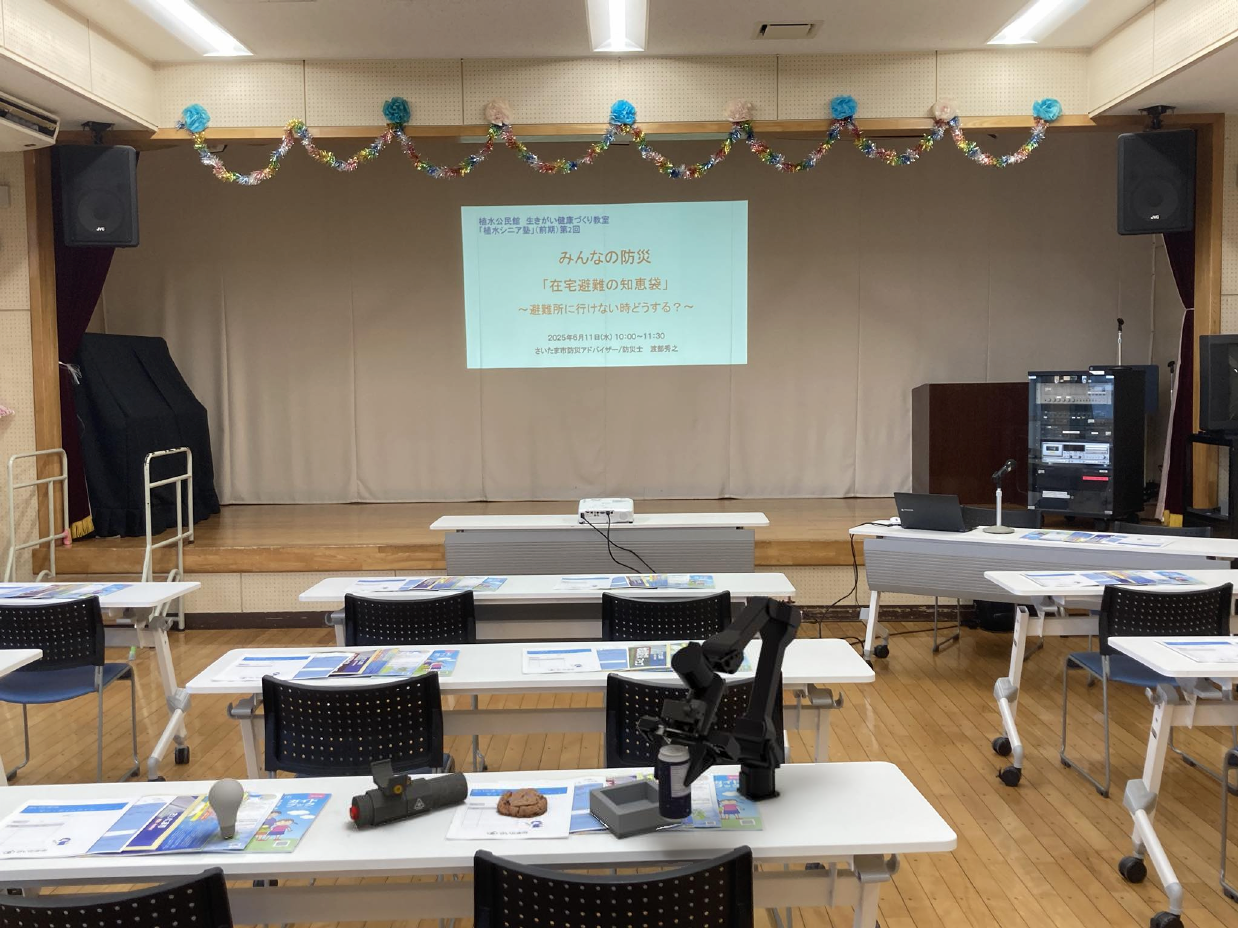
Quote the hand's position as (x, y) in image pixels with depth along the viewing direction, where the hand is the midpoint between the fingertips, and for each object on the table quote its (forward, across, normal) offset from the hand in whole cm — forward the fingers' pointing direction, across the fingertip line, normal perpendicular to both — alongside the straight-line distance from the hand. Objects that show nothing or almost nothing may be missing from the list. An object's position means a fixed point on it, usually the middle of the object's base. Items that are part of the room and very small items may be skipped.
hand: (670, 782), depth 166 cm
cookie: (+9, -35, +10) cm, 38 cm away
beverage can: (+4, 0, +6) cm, 7 cm away
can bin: (+3, -14, +16) cm, 21 cm away
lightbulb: (+36, -72, -18) cm, 83 cm away
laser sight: (+19, -52, 0) cm, 55 cm away
